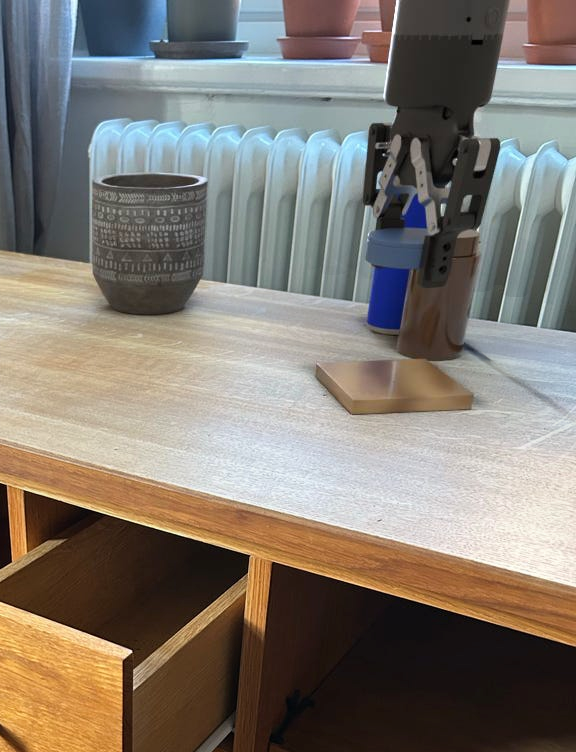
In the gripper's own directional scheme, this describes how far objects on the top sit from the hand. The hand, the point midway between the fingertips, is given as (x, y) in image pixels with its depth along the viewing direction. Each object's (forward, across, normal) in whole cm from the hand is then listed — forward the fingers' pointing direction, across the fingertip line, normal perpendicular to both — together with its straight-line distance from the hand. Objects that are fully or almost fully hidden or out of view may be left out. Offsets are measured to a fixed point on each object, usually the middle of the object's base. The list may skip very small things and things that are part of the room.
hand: (407, 276), depth 76 cm
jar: (+9, -9, +10) cm, 16 cm away
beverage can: (+10, -17, +10) cm, 22 cm away
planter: (+10, -34, -10) cm, 37 cm away
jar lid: (-3, 0, 0) cm, 3 cm away
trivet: (+9, 0, 0) cm, 9 cm away
